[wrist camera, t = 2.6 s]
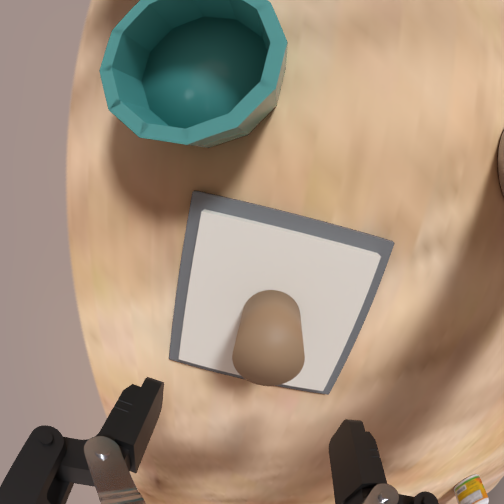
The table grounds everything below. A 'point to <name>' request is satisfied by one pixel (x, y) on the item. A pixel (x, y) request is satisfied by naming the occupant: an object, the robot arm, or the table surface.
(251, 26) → the bowl
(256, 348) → the lid
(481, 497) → the supplement bottle
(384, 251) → the mat
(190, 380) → the table surface
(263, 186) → the table surface
